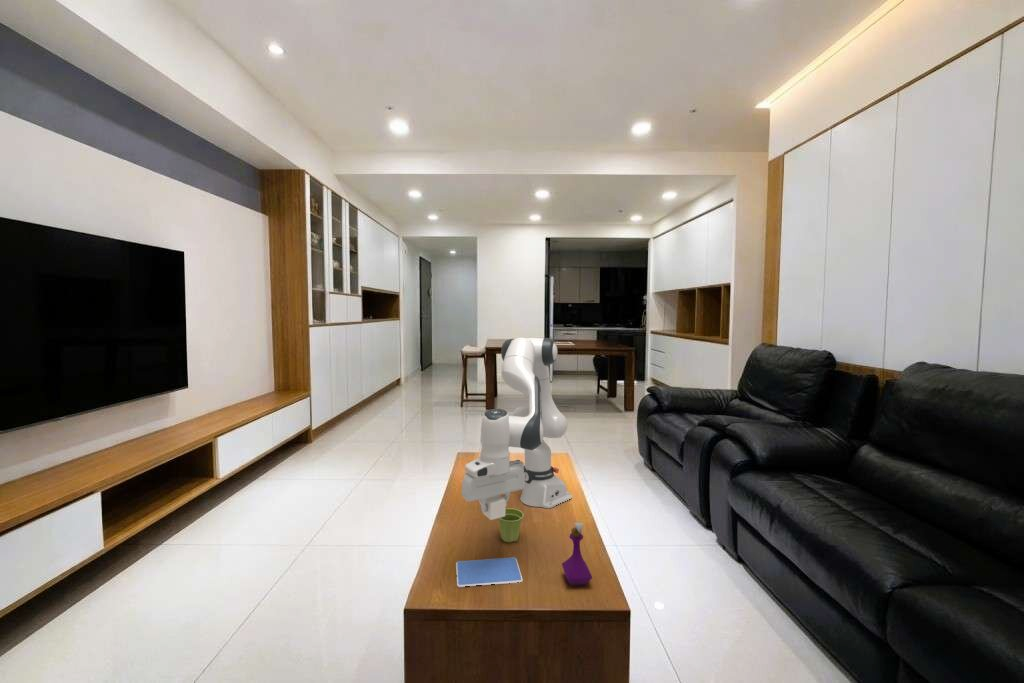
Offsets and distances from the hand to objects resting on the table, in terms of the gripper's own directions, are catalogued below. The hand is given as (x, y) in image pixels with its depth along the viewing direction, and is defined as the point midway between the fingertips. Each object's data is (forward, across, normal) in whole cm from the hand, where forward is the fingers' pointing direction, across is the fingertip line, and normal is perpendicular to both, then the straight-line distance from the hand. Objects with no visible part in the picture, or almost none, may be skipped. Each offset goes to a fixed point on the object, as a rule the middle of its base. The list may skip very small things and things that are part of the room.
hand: (493, 508), depth 130 cm
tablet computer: (+20, +2, 0) cm, 20 cm away
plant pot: (+20, -14, -14) cm, 28 cm away
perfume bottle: (+20, -19, +17) cm, 32 cm away
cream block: (+2, 0, 0) cm, 2 cm away
